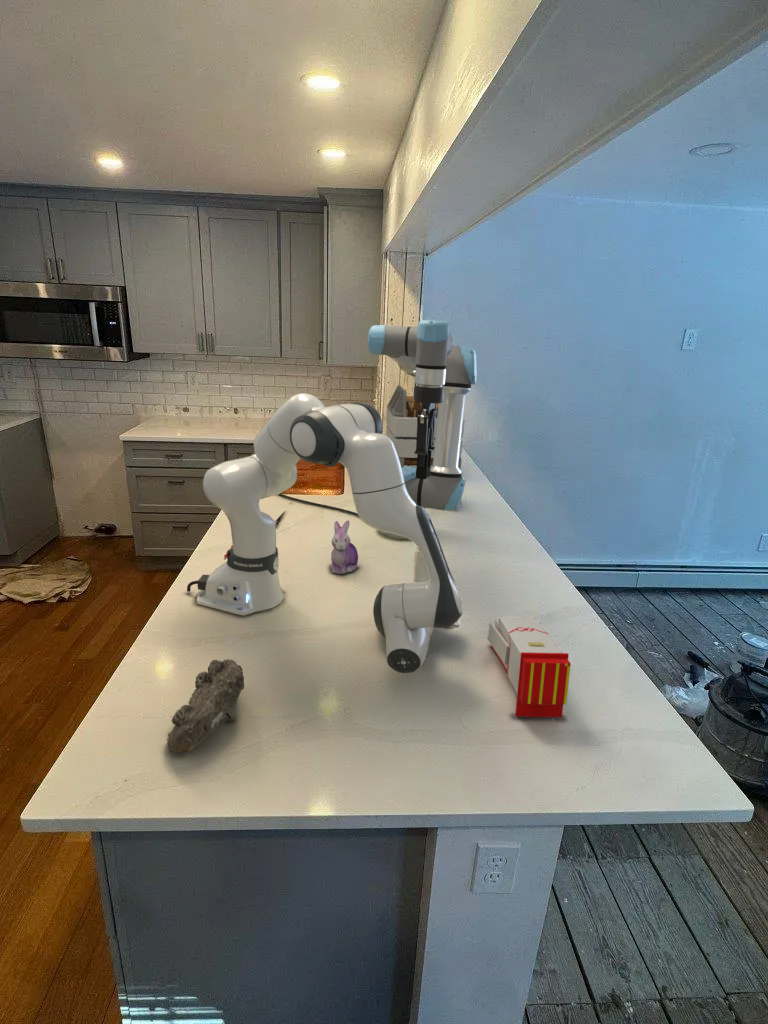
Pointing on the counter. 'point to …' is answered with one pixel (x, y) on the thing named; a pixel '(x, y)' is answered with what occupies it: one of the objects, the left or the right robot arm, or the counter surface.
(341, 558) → the figurine
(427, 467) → the cap
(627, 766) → the counter surface
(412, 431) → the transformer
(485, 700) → the counter surface
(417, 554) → the bottle
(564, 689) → the toy
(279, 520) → the feather
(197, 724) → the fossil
